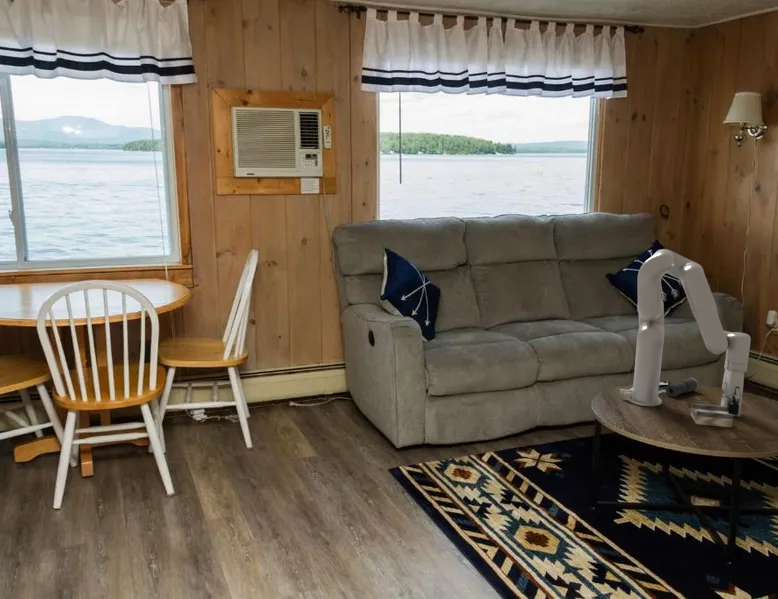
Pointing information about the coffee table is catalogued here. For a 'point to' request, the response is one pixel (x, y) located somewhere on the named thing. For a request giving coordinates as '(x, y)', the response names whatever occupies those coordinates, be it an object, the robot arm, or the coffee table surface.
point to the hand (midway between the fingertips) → (730, 410)
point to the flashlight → (682, 387)
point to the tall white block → (727, 400)
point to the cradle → (711, 415)
